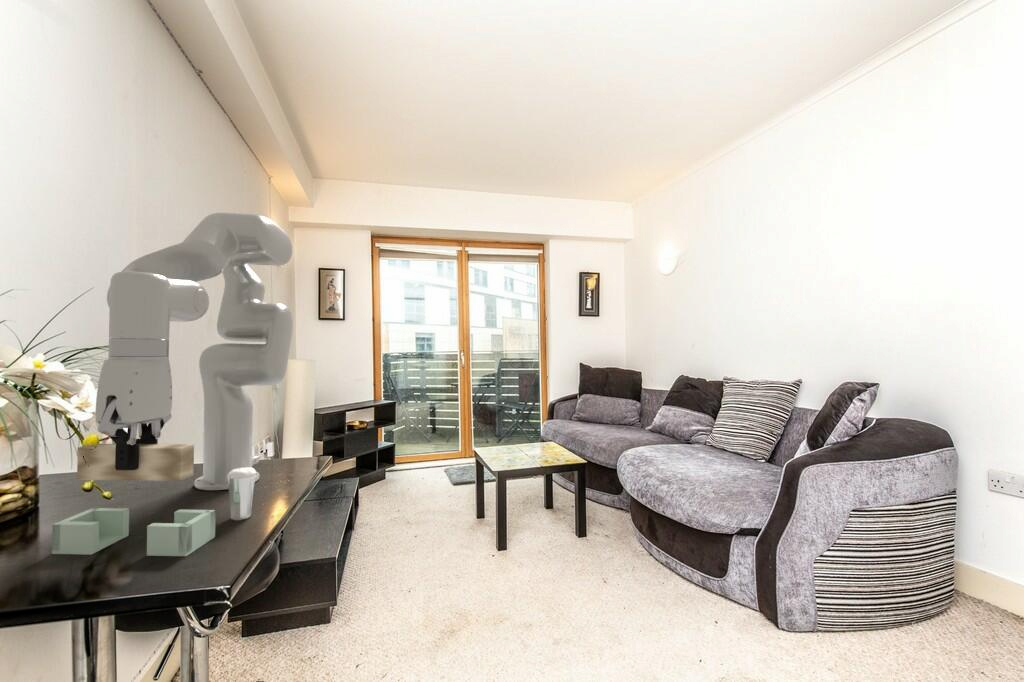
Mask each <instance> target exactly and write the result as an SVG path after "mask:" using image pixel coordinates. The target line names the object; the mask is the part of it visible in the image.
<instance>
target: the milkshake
mask: <svg viewBox="0 0 1024 682" xmlns="http://www.w3.org/2000/svg"><path fill="white" fill-rule="evenodd" d="M244 465H245V459H242V468H238V469H233V470H232V471H230V472H229V474H228V475H227V477H228V486H229V489H228V495H229V507H230V508H229V511H230V520H233V521H243V520H247V519H248V518H251V516H252V507H253V497H254V489H255V483H256V482H255V475H256V471H257V470H256V469H255V468H253V467H252V468H251V467H250V468H249V467H246V468H244Z"/></svg>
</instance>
